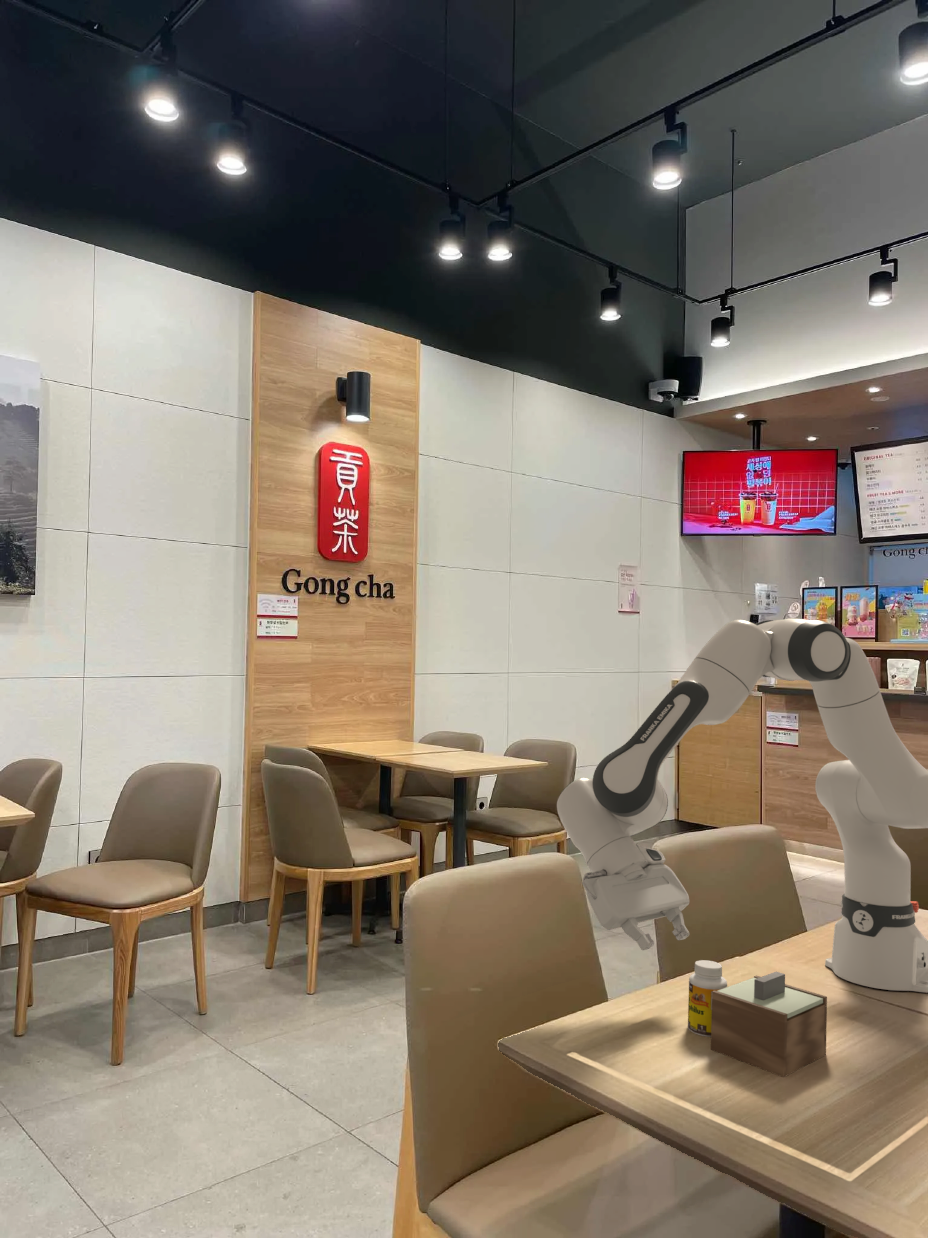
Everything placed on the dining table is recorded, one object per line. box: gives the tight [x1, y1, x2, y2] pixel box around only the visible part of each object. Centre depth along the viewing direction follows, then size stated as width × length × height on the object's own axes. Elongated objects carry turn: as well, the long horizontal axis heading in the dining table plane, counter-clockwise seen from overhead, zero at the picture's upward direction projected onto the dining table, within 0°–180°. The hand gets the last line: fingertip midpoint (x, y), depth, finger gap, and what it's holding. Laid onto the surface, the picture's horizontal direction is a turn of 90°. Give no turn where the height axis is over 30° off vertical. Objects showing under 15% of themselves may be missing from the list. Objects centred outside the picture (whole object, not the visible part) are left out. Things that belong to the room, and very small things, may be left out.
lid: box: [718, 971, 823, 1019], centre depth 129 cm, size 10×11×3 cm
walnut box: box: [710, 975, 828, 1078], centre depth 128 cm, size 12×11×9 cm
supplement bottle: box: [687, 959, 728, 1038], centre depth 136 cm, size 6×6×10 cm
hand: (667, 942), depth 142 cm, fingers open, 8 cm apart
